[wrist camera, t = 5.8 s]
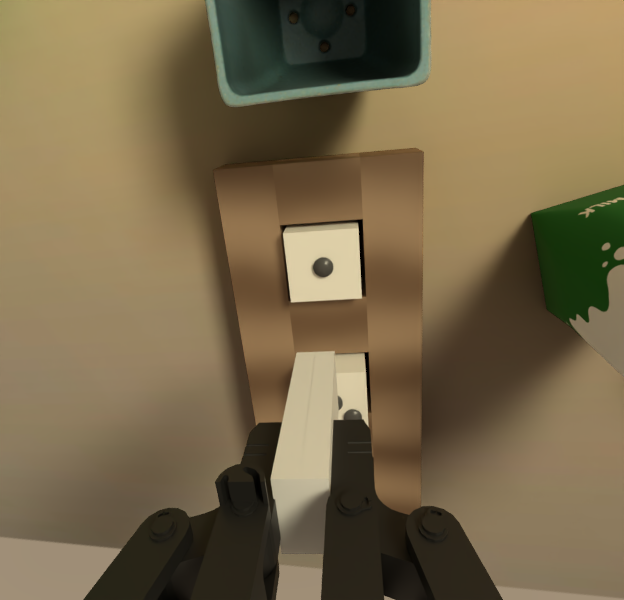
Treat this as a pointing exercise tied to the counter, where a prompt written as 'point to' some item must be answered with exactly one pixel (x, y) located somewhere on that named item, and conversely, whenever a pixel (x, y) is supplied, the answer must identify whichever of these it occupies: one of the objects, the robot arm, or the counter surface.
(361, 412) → the button three
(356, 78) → the flower pot
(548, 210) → the milk carton
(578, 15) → the counter surface
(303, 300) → the button one
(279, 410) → the button panel
